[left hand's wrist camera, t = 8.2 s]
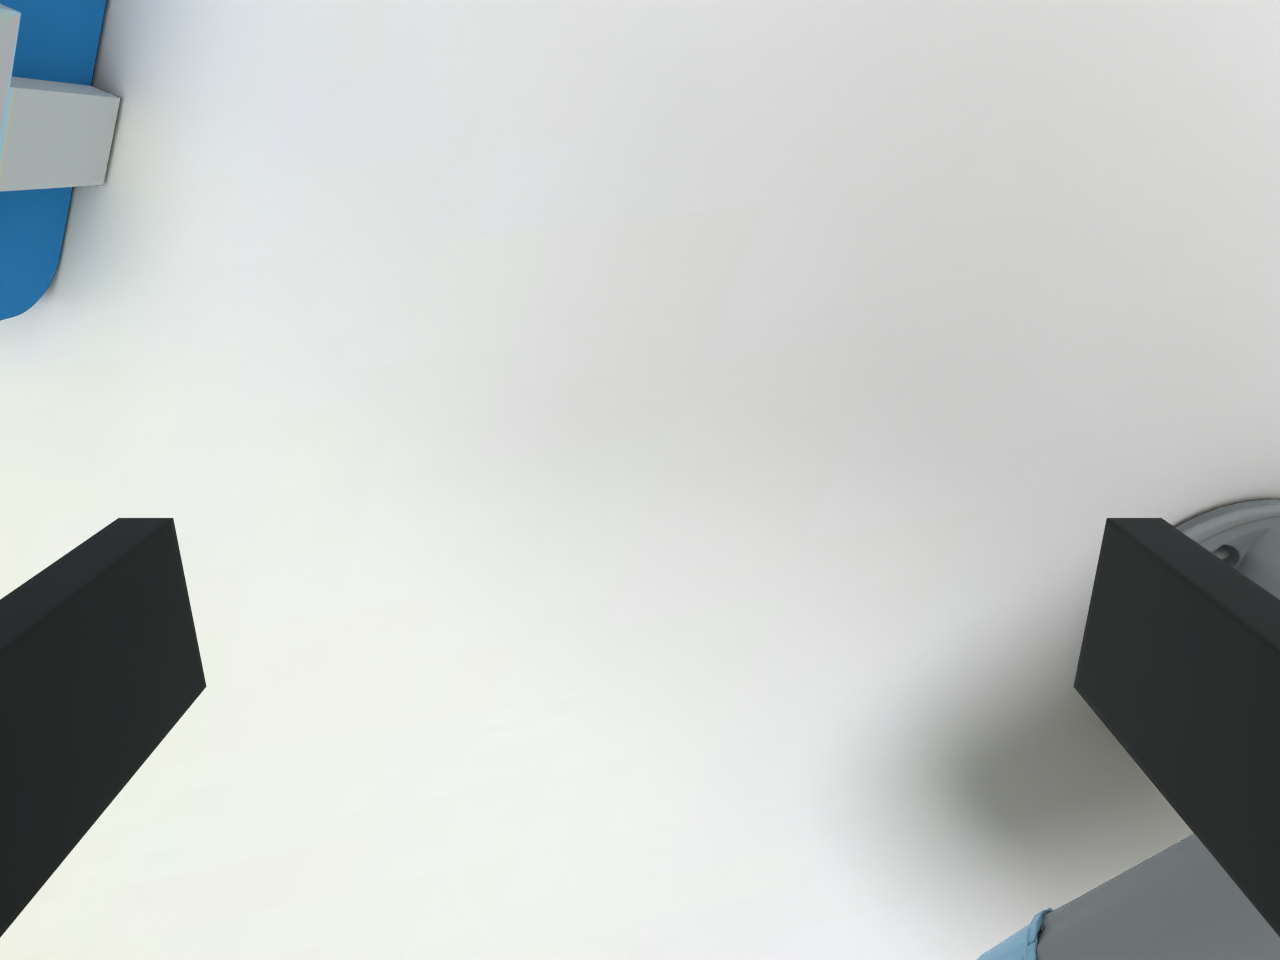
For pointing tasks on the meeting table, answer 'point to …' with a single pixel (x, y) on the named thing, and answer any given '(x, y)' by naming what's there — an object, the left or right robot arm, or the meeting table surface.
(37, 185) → the logo
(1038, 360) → the meeting table surface
